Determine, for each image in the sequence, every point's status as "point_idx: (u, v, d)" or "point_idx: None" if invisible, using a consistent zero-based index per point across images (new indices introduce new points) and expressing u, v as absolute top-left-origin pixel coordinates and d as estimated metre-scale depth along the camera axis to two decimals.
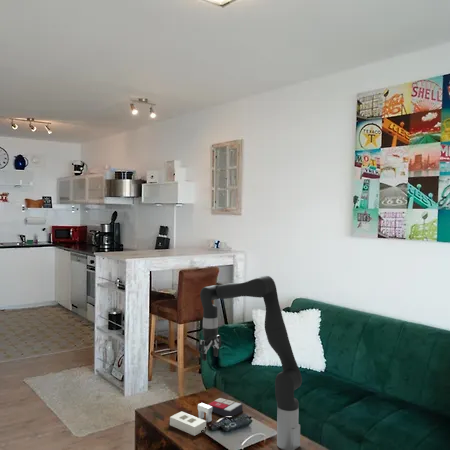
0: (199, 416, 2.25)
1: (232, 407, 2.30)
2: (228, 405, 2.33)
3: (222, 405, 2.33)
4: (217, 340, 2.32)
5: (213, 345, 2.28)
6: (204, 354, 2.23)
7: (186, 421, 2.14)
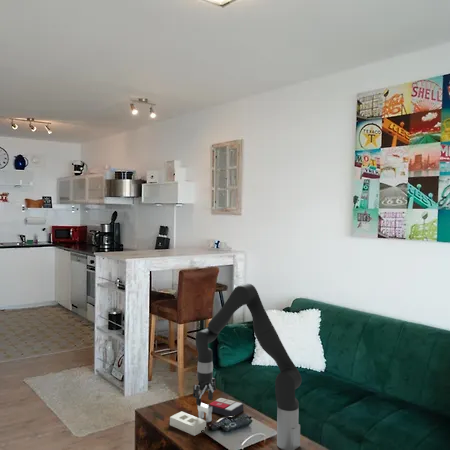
0: (199, 416, 2.25)
1: (233, 407, 2.31)
2: (229, 405, 2.33)
3: (223, 405, 2.33)
4: (212, 383, 2.29)
5: (208, 389, 2.25)
6: (198, 399, 2.20)
7: (186, 421, 2.14)
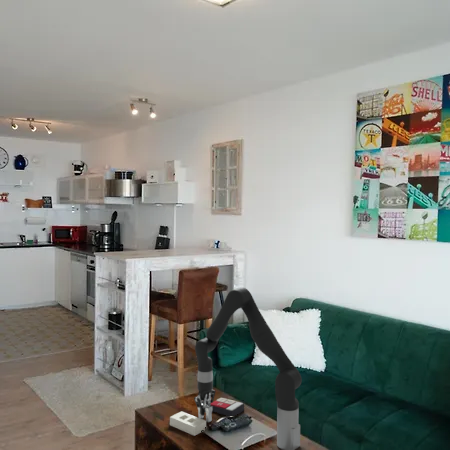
0: (199, 416, 2.25)
1: (234, 406, 2.31)
2: (230, 405, 2.33)
3: (224, 405, 2.33)
4: (210, 395, 2.28)
5: (206, 398, 2.24)
6: (202, 409, 2.22)
7: (186, 421, 2.14)
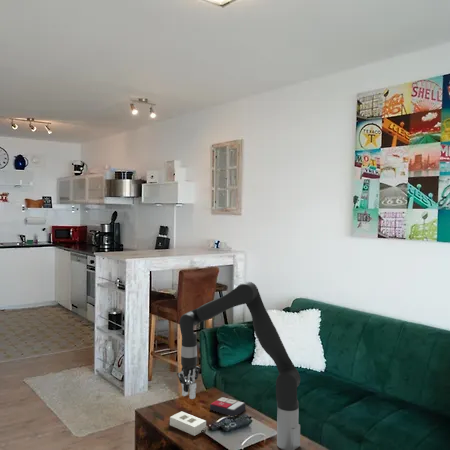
0: (183, 393, 2.18)
1: (235, 406, 2.31)
2: (231, 404, 2.34)
3: (225, 404, 2.34)
4: (195, 371, 2.20)
5: (190, 375, 2.16)
6: (186, 385, 2.14)
7: (186, 421, 2.14)
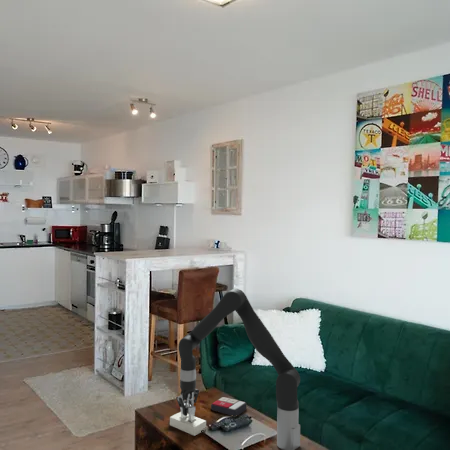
0: (182, 416, 2.17)
1: (236, 406, 2.32)
2: (232, 404, 2.34)
3: (226, 404, 2.34)
4: (194, 394, 2.20)
5: (189, 398, 2.16)
6: (185, 409, 2.14)
7: (186, 421, 2.14)
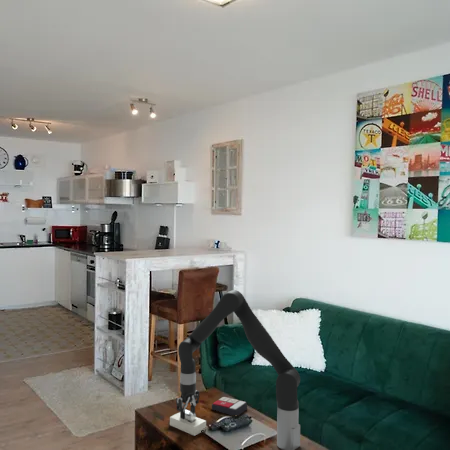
0: None
1: (237, 405, 2.32)
2: (233, 404, 2.34)
3: (227, 404, 2.34)
4: (195, 396, 2.20)
5: (190, 401, 2.16)
6: (182, 412, 2.13)
7: (186, 421, 2.14)
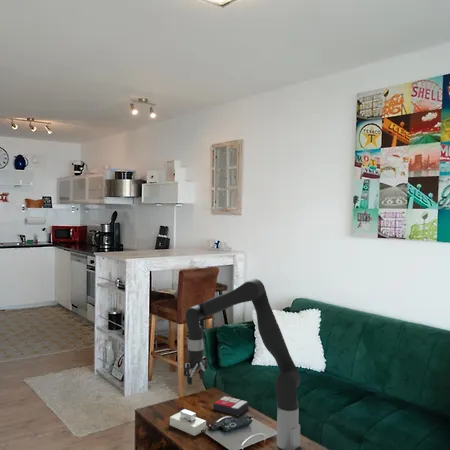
0: None
1: (239, 405, 2.33)
2: (234, 403, 2.35)
3: (229, 403, 2.35)
4: (203, 362, 2.22)
5: (199, 368, 2.18)
6: (189, 378, 2.14)
7: (186, 421, 2.14)
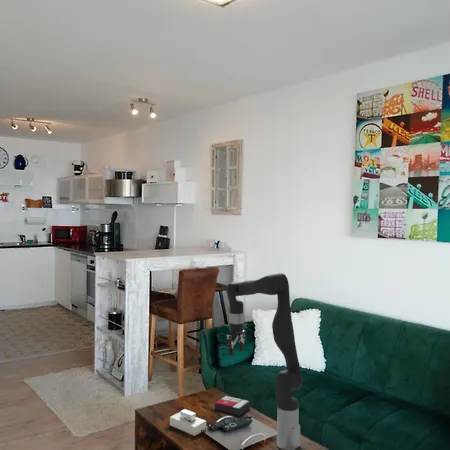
0: None
1: (240, 404, 2.33)
2: (236, 403, 2.36)
3: (230, 403, 2.35)
4: (242, 335, 2.37)
5: (239, 340, 2.33)
6: (231, 349, 2.28)
7: (186, 421, 2.14)
